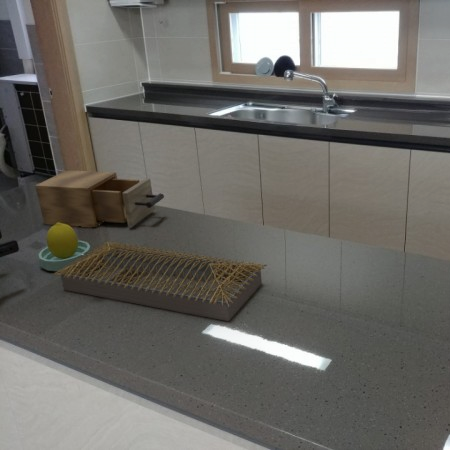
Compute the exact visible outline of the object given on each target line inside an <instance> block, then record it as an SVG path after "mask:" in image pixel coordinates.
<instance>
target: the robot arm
mask: <svg viewBox="0 0 450 450" xmlns="http://www.w3.org/2000/svg"><path fill="white" fill-rule="evenodd" d="M2 238H3V235H2V230H0V240H1V239H2ZM19 251H20V247H19V244H18V241H17V240H16V239H10V240H6V241H4V242H0V258H3V257H5V256H9V255H12V254H16V253H18V252H19Z"/></svg>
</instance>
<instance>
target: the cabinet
mask: <svg viewBox="0 0 450 450" xmlns="http://www.w3.org/2000/svg"><path fill="white" fill-rule="evenodd" d="M111 178H113V179H118V174H117V172H112V171H94V170H93V171H92V170H91V171H90V170H73V169H72V170H70V169H69V170H65V171H63V172H60V173H58V174H57V175H54V176H52V177H50V178H48V179H45V180H44V181H42V182H39V183H37V184H35V186H34V187H35V191H36V194H37V199H38V203H39V207H40V212H41V216H42V219H43V224H44V225H48V226H49V225H50V226H54V225H56V223H58V222H60V223H62V224H67V225H69V226H70V227H78V226H81V227H80V228H91V229H93V228H92V227H96V228H98V227H99V226H100V225H102V224H104V223H105V222H103V221H96V216H95V211H94V206H93V201H92V196H91V191H90V190H92V189H94V188H95V187H97V186H99V185H101V184H103V183H104V182H106V181H108V180H110V179H111ZM102 222H103V223H102ZM101 223H102V224H101ZM99 224H100V225H99ZM98 225H99V226H98ZM78 228H79V227H78Z"/></svg>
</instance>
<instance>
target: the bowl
mask: <svg viewBox="0 0 450 450" xmlns="http://www.w3.org/2000/svg"><path fill="white" fill-rule="evenodd" d="M89 252H92V247H91V245H90V244H89V242H87V241H84V240H80V239H78V248H77V251H76V252H75V254H74V255H72V256H71V257H70V258H67V259H63V258H57V257H55V256H54V255H53V254H52V253H51V252H50V250H49V248H48V246H46V247H44V248H42V250H40V252H39V253H38V259H39V260H38V261H39V264H40V267H41V268H42V269H43V270H45V271H49V272H57V271H59V270H61V269H64V268H63V267H66V266H70V263H74V262H77V261H81V260H77V259H81V256H85V255H88V254H87V253H89ZM89 254H92V253H89ZM88 256H90V255H88ZM88 256H85V257H88ZM75 260H77V261H75ZM77 263H78V262H77ZM74 264H75V263H74ZM74 264H73V265H74ZM66 268H67V267H66ZM63 271H64V270H63Z"/></svg>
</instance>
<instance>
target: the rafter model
mask: <svg viewBox="0 0 450 450" xmlns="http://www.w3.org/2000/svg"><path fill="white" fill-rule="evenodd" d="M89 253H92V254H89ZM89 253H87V254H88V255H90V256H88V255H85V256H88V257H85V256H81V259H77V260H81V261H77V260H75V261H77V262H78V263H77V262H74V263H75V264H74V263H70V266H66V267H67V268H66V267H63V268H64V269H61V270H59V271H55V272H54V273H52V276H56V275H57V277H59V276H60V278H61V281H62V287H63V291H69V292H74V293H80V294H84V295H90V296H94V297H100V298H104V299H111V300H115V301H121V302H126V303H132V304H137V305H141V306H146V307H152V308H157V309H162V310H167V311H173V312H178V313H184V314H189V315H194V316H197V317H205V318H209V319H213V320H214V319H215V320H219V321H226V322H230V321H231V320H232V318H233V317H234V316H235V315H236V314H237V313H238V311H239V310H240V309H241V308H242V307H243V305H245V303H247V301H248V300H249V299H250V298H251V297H252V295H253V294H254V293H255V292H256V291H257V290H258V289H259V288H260V286H261V285H262V284H263V281H262V280H263V279H262V270H264V269H265V267H267V266H268V264H262V263H255V262H251V261H248V262H245V261H244V260H242V261H238V260H237V259H236V260H232V259H231V258H229V259H225V258H224V257H222V258H218V257H212V255H210V256H205V254H203V255H199V254H198V253H197V254H193V253H186V252H180V251H174V250H168V249H163V250H162V248H157V249H156V248H155V247H151V248H150V247H149V246H147V247H144V246H143V245H142V246H138V245H132V244H127V243H122V242H113V241H109V242H108V241H106V242H104V243H102V245H101V244H100V245H99V246H97V248H93V249H91V252H89ZM73 264H74V265H73ZM100 266H101V267H100ZM107 267H108V268H107ZM104 269H105V271H103V270H104ZM113 269H114V270H113ZM63 270H64V271H63ZM109 271H111V272H109ZM88 274H89V275H88ZM146 274H148V275H146ZM152 275H155V276H152ZM159 276H161V277H160V278H159ZM141 277H142V278H141ZM149 277H150V279H148V278H149ZM166 277H168V278H167V279H166ZM156 278H157V280H155V279H156ZM163 278H164V281H162V279H163ZM173 278H175V279H174V280H173ZM180 279H181V281H180ZM223 279H224V280H223ZM170 280H171V282H169V281H170ZM187 280H188V281H189V282H187ZM222 280H223V281H222ZM161 281H162V282H161ZM177 281H178V283H177V284H176V282H177ZM184 281H185V282H184ZM209 281H211V282H209ZM168 282H169V283H168ZM194 282H196V283H194ZM183 283H185V284H184V285H183ZM202 283H203V284H202ZM231 283H232V284H231ZM191 284H192V285H191ZM201 284H202V285H201ZM208 284H210V286H208ZM190 285H191V286H190ZM198 285H199V287H198ZM217 285H218V286H217ZM145 286H146V287H145ZM154 286H155V287H154ZM189 286H190V287H189ZM205 286H206V288H205ZM213 286H214V288H213ZM152 287H154V288H152ZM161 287H162V288H161ZM169 287H170V288H169ZM160 288H161V289H160ZM168 288H169V289H168ZM204 288H205V289H204ZM212 288H213V289H212ZM167 289H168V290H167ZM175 289H177V290H176V291H175ZM183 290H184V291H183ZM191 290H192V292H191V293H190V294H188V293H189V292H190V291H191ZM174 291H175V292H174ZM182 291H183V292H182ZM181 292H182V293H181ZM197 293H198V294H197ZM205 293H206V294H205ZM196 294H197V296H196ZM204 294H205V296H204V297H202V296H203V295H204ZM212 294H213V295H212ZM211 295H212V297H211V298H209V297H210V296H211ZM220 299H221V300H220Z"/></svg>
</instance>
